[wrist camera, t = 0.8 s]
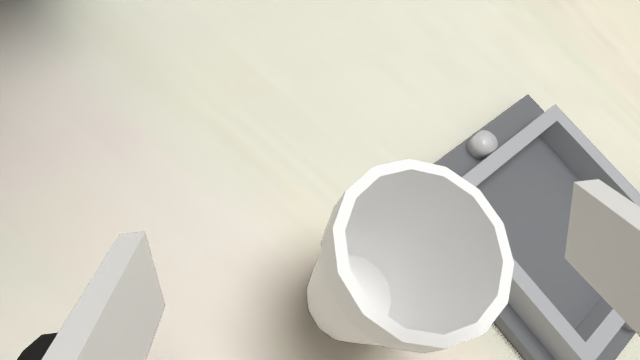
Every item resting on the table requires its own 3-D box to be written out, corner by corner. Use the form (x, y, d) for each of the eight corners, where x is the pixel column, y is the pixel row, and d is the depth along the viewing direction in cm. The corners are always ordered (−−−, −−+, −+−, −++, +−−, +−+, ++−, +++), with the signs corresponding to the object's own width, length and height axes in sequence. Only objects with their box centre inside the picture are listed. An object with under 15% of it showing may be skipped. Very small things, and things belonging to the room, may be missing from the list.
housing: (390, 197, 40) (408, 178, 36) (520, 101, 47) (545, 78, 44) (565, 409, 36) (603, 410, 33) (675, 268, 44) (714, 257, 40)
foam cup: (383, 222, 38) (466, 145, 27) (429, 340, 35) (545, 310, 24) (268, 253, 35) (306, 181, 24) (307, 385, 32) (374, 377, 21)
